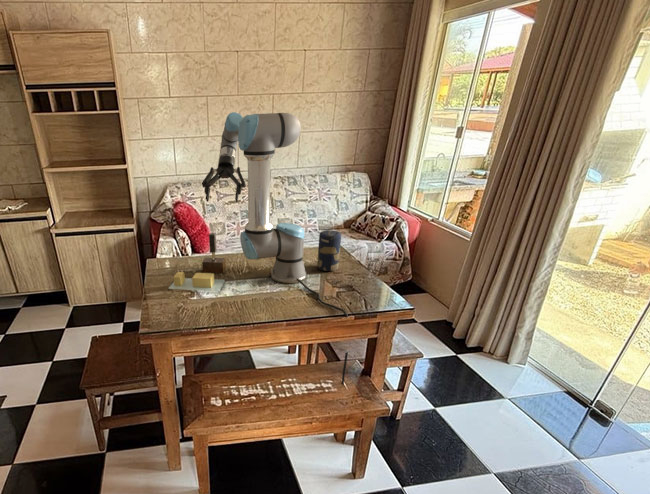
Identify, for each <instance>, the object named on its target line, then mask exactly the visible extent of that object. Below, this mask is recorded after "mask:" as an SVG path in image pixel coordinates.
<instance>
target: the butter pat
mask: <svg viewBox="0 0 650 494" xmlns="http://www.w3.org/2000/svg"><path fill="white" fill-rule="evenodd" d="M185 278H186V274H185V271H184V272H183V271H177V272H176V273H175V275H174V276H173V277H172V279H173V282H174V286H182V284H183V283H184V282H185Z"/></svg>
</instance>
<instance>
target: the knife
mask: <svg viewBox="0 0 650 494" xmlns="http://www.w3.org/2000/svg"><path fill="white" fill-rule="evenodd" d="M208 239H209V243H208V244H209V253H211V258H212V262H215V258H216V252H217V250H218V249H217V234H216V232H210V233H209V235H208Z"/></svg>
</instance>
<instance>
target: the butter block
mask: <svg viewBox="0 0 650 494" xmlns="http://www.w3.org/2000/svg"><path fill="white" fill-rule="evenodd" d="M191 278H192V282H193V287H207V288H211V287H212V285H213V284H214V279H215V273H205V272H195V273H194V275H193V276H192V277H191Z"/></svg>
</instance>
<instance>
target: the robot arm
mask: <svg viewBox="0 0 650 494" xmlns="http://www.w3.org/2000/svg"><path fill="white" fill-rule="evenodd" d="M301 131H302V126H301V122H300V120H299V118H298V117H296V115H294V114H292V113H288V112H273V113H271V112H268V113H252V114H246V115H244V116H242V114H241V113H238V112H236V111H232V112H230V113H228V114H227V116H226V118H225V122H224V127H223V131H222V133H221V134H222V135H221V141H220V149H219V156H218V161H217V162H218V163H217V168H214V167H213V166H211V167H210V169H209V172H208V173H207V175H206V176H205V177H204V179H203V180H202V182H201V186H202V188H204V190H203V191H204V195H205V201H206V202H207V203H208V202H209V201H210V194H211V187H212V186H213V185H214V184H215V183H216V182H218V181H219V180H220V179H230V180H232V182H233V183H234V184H235V185H236V187H235V197H234V198H235V203H237V202H239V195H242V189H243V188H246V187H247V209H248V210H247V215H248V216H247V217H248V218H247V221H248V222H247V223H246V224H245V225H244V231H241V232H240V236H239V240H240V246H241V250H242V252H243V254H244V257H245V259H248V260H261V259H268V258H270V259H271V258H275V260H274V263H273V267H272V268H270V278H271V279H272V280H273V281H275V282H277V283H281V284H297V283H298V284H299V283H300V284H301V285H302V286H303V287H304V288H305V289H306V290H307V291H309V292H311V293H312V294H315V295H316V296H317V300H318V301H319V303H320V304H322V305H324V306H327V307H330V308H333V309H335V310H338V311H341V312H342V313H343V314H344V317H345V318H349V315H348V312H347V311H346V310H345V309H343V308H341V307H339V306H336V305H333V304H331V303H329V302H325V301H323V300H322V298H321V295H320V294H319V293H318V292H317V291H315V290H313V289H312V288H309V287H308V286H307V285H306V284H305V283H304V282H303V281H305V280H306V279H307V271H306V269H305V268H306V267H305V264H304V247H305V246H304V245H305V244H304V243H305V229H304V228H303V226H301V225H299V224H297V223H296V224H295V223H291V222H279V223H277V224H276V226H275V228H274V225H273V224H272V223H271V221H270V219H271V218H270V217H271V213H270V212H271V160H272V158H273V157H274V156H275V155H276V154H275V153H276V149H280V148H286V147H289V146H291V145H293V144H294V143H296V141H297V140H298V139H299V137H300V135H301ZM237 147H238V148H239V150H240V151H243V156H244V157H245V158H246V160H247V185H246V182H245V179H244V177H243V175H242V173H241V172H242V171H241V168H240V166H237V167H236V168H235V164H236V156H237ZM234 174H236V175H237V176H238V178H239V180H238V179H237V177H236V176H235V175H234ZM348 355H349V352H348V351H347V352H345V354H344V362H343V370H342V375H341V385H342V386H344V385H345V377H346V370H347V363H348Z"/></svg>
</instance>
